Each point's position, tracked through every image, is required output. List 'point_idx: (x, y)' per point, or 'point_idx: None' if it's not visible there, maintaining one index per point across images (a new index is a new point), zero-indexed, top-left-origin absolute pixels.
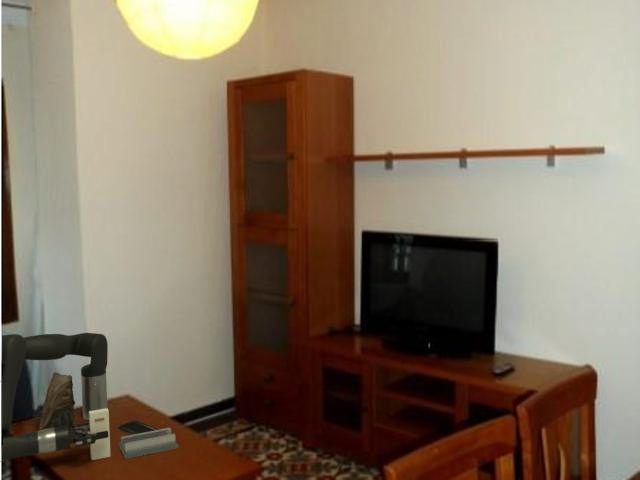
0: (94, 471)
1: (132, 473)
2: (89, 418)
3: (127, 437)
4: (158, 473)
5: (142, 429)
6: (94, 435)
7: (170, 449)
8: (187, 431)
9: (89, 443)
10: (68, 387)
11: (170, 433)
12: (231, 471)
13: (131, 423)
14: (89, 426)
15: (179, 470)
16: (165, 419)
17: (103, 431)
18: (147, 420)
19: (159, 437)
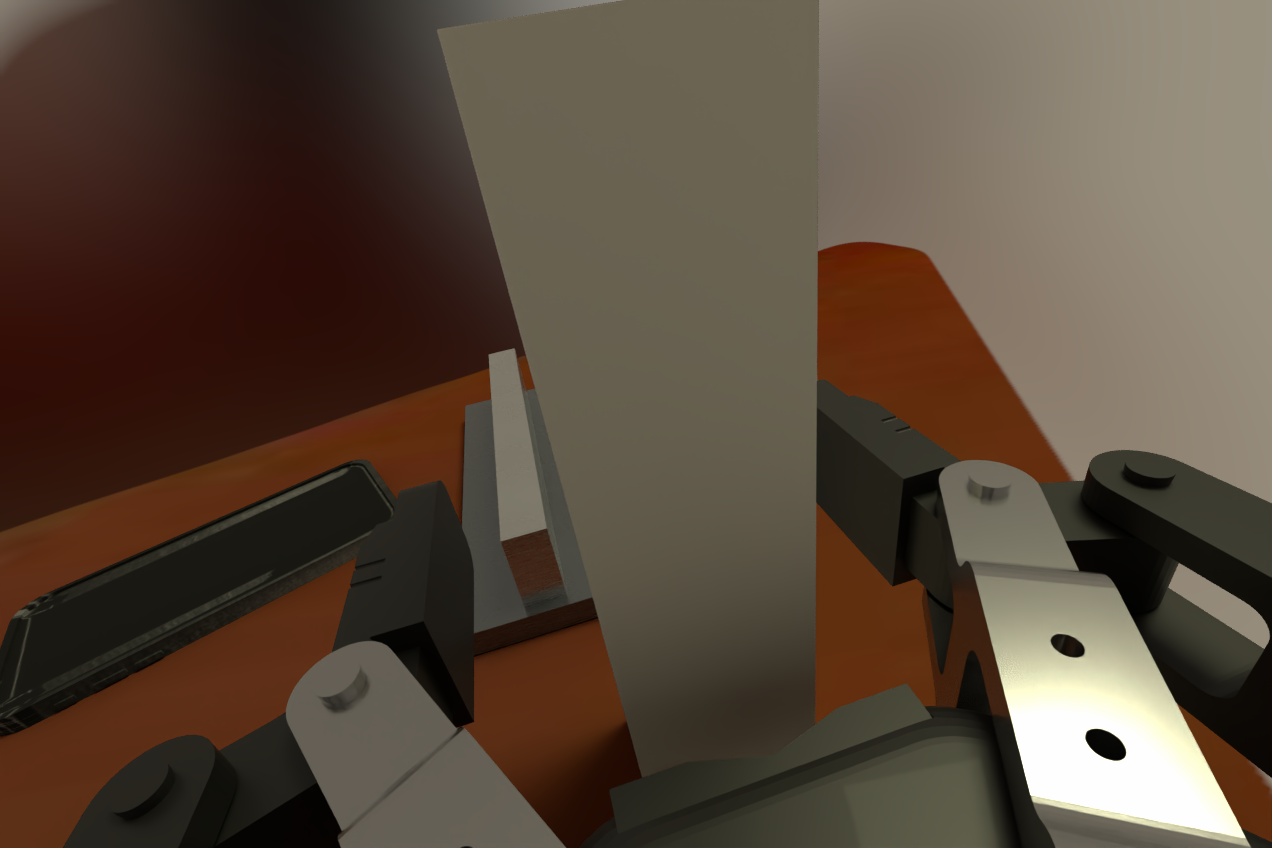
0: None
1: (1051, 475)
2: (680, 304)
3: (540, 495)
4: (994, 380)
5: (267, 535)
6: (1110, 458)
7: None
8: (459, 381)
9: (1238, 641)
10: None
11: (521, 374)
12: (902, 258)
13: (50, 625)
14: (632, 603)
15: (928, 335)
16: (203, 470)
17: (833, 408)
18: (102, 548)
19: None
